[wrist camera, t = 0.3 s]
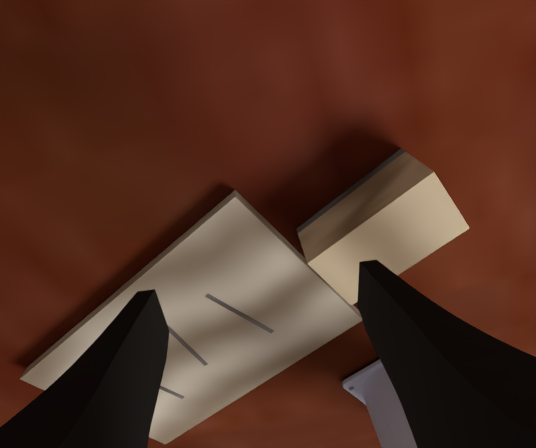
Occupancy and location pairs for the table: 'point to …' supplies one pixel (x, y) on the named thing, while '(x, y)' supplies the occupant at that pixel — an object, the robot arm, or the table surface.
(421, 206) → the block
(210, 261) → the birch board
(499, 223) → the table surface
